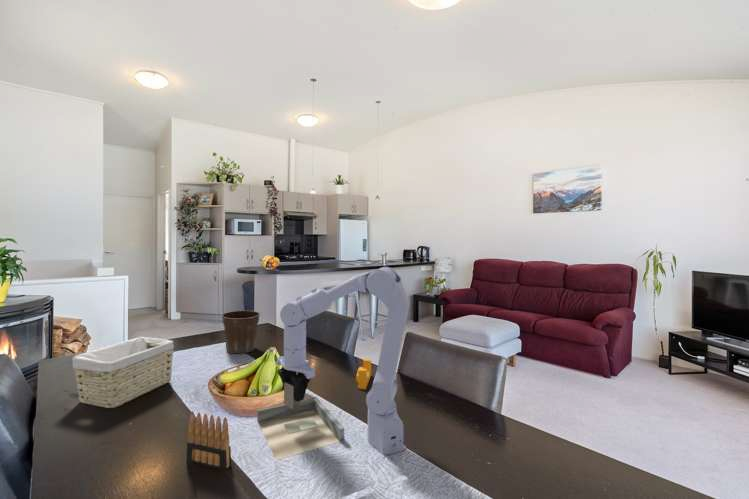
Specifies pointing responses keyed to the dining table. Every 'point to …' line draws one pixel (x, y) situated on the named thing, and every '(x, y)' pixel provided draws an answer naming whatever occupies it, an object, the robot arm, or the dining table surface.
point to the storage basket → (123, 371)
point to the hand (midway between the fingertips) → (294, 397)
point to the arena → (298, 428)
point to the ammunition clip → (208, 442)
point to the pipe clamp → (364, 374)
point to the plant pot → (240, 330)
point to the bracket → (290, 396)
